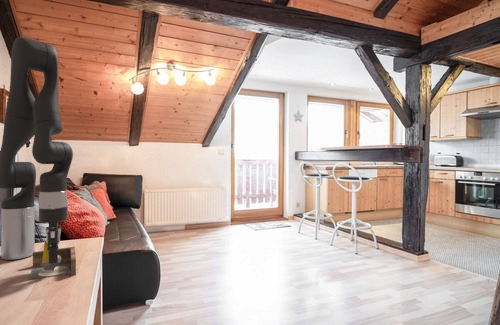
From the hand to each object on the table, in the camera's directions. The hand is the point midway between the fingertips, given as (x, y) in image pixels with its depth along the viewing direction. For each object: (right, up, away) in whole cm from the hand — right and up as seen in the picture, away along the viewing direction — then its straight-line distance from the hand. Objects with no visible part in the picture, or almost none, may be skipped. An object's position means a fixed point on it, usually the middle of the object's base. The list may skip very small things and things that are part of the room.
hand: (53, 259), depth 93 cm
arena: (-1, -4, +1) cm, 4 cm away
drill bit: (0, -4, 0) cm, 4 cm away
